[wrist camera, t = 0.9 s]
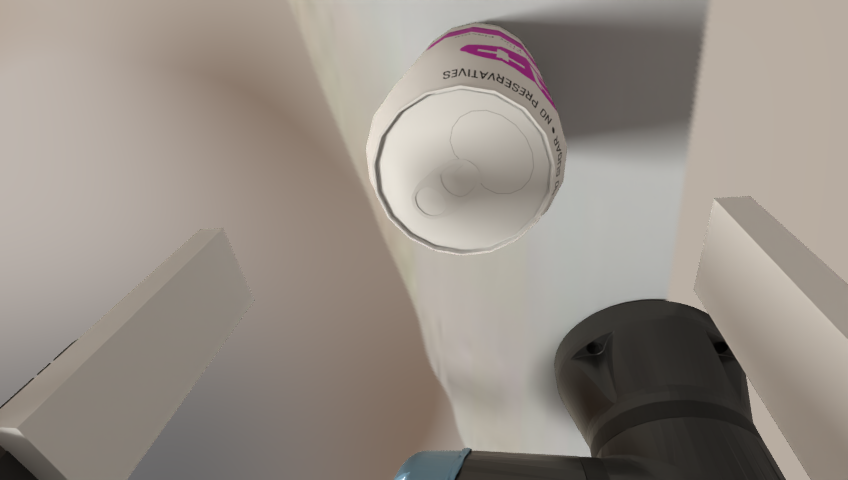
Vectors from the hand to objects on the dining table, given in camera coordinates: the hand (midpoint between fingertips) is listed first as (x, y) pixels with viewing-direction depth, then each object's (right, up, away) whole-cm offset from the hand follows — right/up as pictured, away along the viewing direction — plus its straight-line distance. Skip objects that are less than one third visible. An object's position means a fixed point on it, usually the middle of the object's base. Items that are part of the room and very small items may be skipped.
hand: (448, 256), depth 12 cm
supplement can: (+3, +11, +17) cm, 21 cm away
